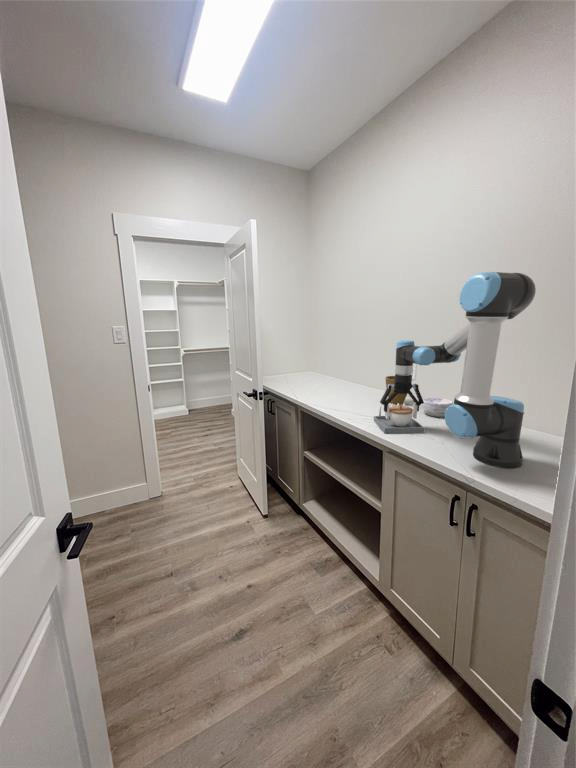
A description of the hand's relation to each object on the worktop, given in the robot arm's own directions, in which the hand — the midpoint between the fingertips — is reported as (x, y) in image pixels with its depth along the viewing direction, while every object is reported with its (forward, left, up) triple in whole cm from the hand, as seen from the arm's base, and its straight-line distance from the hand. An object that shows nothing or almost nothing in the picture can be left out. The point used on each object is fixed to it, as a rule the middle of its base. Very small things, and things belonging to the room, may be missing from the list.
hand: (400, 418), depth 147 cm
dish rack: (+1, +1, -5) cm, 5 cm away
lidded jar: (0, 0, -3) cm, 3 cm away
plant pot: (+42, -13, -5) cm, 44 cm away
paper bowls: (+19, -26, -5) cm, 33 cm away
